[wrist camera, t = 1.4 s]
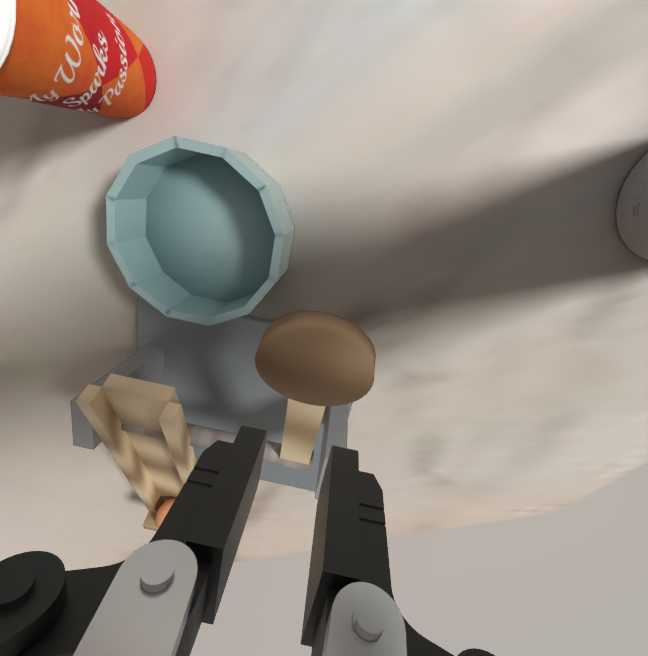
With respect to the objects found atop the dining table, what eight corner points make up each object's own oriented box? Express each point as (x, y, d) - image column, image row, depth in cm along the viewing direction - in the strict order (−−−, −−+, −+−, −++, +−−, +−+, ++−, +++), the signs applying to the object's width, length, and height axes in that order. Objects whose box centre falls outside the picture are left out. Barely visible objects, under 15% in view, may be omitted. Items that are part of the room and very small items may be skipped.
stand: (142, 292, 31) (48, 338, 22) (367, 342, 31) (373, 410, 22) (140, 446, 38) (65, 536, 28) (327, 488, 38) (318, 591, 28)
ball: (192, 499, 34) (179, 535, 32) (197, 505, 36) (185, 539, 34) (160, 492, 34) (146, 528, 32) (168, 498, 36) (154, 532, 34)
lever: (39, 248, 16) (-33, 304, 13) (390, 325, 16) (386, 397, 13) (162, 489, 38) (144, 528, 35) (308, 521, 38) (301, 562, 35)
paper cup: (137, 158, 28) (-59, 130, 14) (47, 80, 26) (-259, -27, 13) (193, 64, 25) (18, -71, 12) (97, -27, 24) (-218, -293, 11)
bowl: (305, 166, 27) (295, 162, 23) (279, 318, 31) (267, 338, 27) (144, 131, 27) (104, 120, 23) (141, 287, 31) (107, 303, 27)
